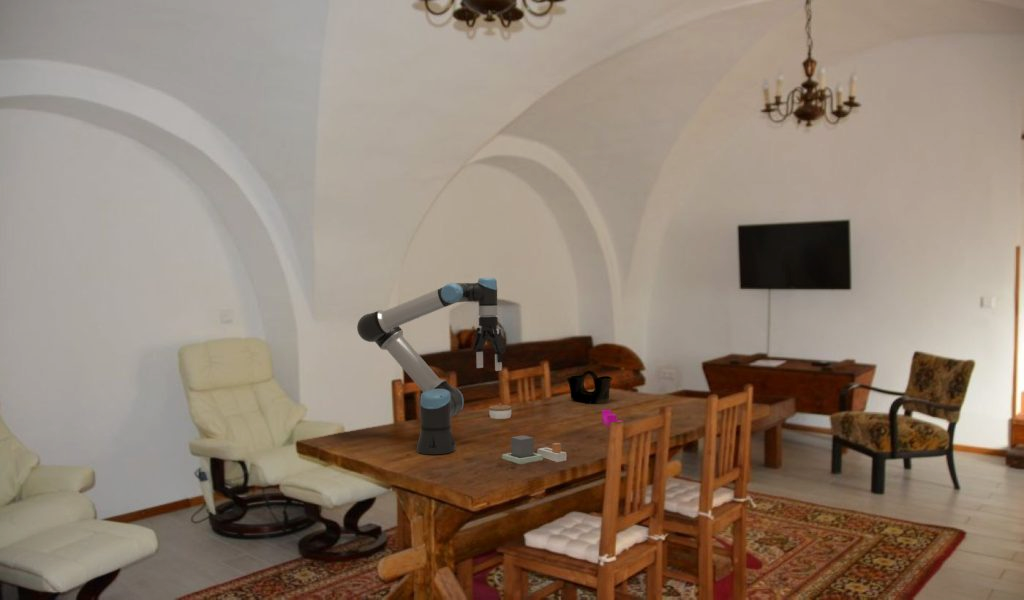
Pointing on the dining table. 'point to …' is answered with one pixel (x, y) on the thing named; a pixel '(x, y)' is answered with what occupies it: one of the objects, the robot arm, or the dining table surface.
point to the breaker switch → (556, 447)
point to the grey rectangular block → (522, 446)
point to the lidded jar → (500, 411)
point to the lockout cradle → (522, 460)
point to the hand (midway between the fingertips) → (489, 369)
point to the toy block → (609, 417)
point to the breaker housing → (552, 454)
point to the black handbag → (586, 397)
